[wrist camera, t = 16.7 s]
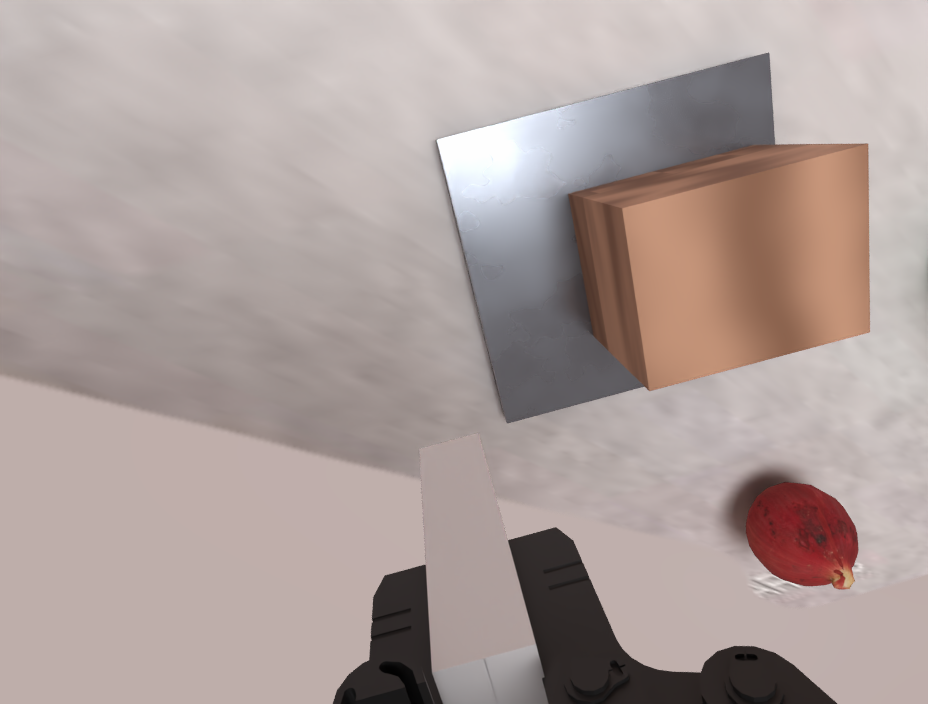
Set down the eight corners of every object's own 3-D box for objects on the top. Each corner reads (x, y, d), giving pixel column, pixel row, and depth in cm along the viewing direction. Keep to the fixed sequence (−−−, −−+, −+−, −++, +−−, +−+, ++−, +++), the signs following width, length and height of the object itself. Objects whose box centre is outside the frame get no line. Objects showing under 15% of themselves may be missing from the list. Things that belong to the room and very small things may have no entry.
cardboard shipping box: (593, 336, 33) (649, 391, 26) (568, 193, 31) (622, 208, 23) (764, 290, 34) (869, 332, 26) (754, 144, 31) (868, 143, 23)
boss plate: (503, 414, 36) (513, 440, 33) (435, 140, 30) (439, 139, 27) (775, 341, 36) (810, 359, 33) (755, 55, 31) (795, 45, 27)
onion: (714, 478, 39) (790, 557, 31) (798, 447, 39) (894, 520, 31) (731, 547, 41) (806, 637, 33) (811, 518, 41) (904, 602, 33)
